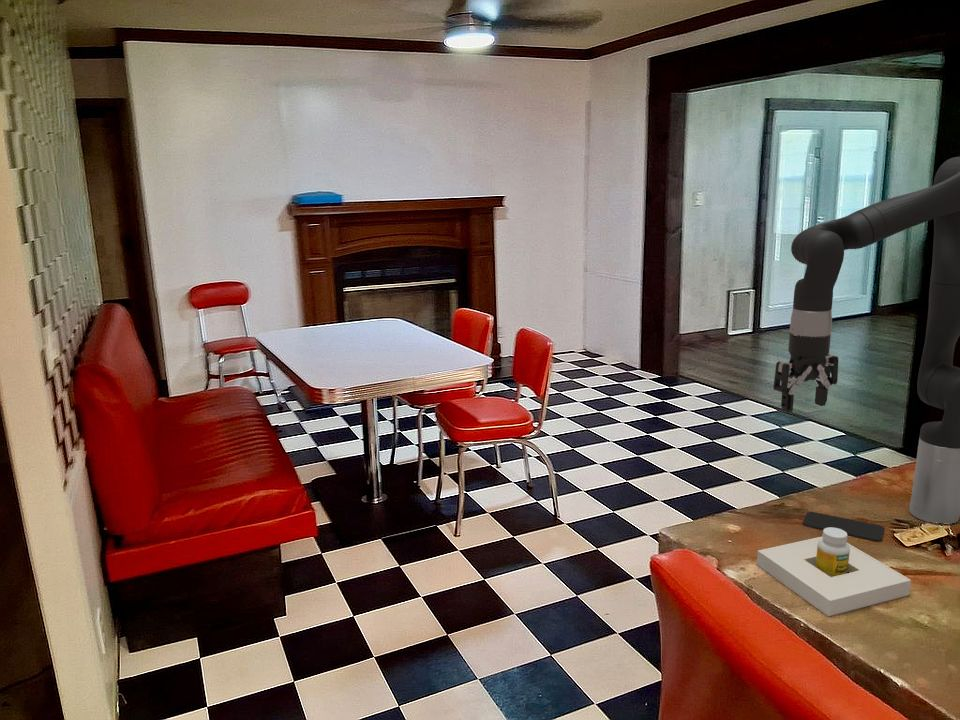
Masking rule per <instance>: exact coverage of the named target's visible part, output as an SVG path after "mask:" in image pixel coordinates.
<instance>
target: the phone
mask: <svg viewBox="0 0 960 720" xmlns="http://www.w3.org/2000/svg"><path fill="white" fill-rule="evenodd" d="M802 525H803V526H804V527H806V528H810V529H811V528H812V529H815V530H820V531H823V530H824V529H825V528H829V527H833V528H839V529H842V530H844V531H845V532H846V533H847V537H850V538H851V537H852V538H856V539H861V540H866V541H870V542H875V543H881V542H882V541H883V539H884V534H885V527H884V526H882V525H879V524H875V523H870V522H865V521H860V520H856V519H851V518H845V517H840V516H835V515H831V514H825V513H820V512H814V511H808V512H806V514H805V516H804V519H803V522H802Z"/></svg>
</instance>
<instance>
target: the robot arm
mask: <svg viewBox="0 0 960 720" xmlns="http://www.w3.org/2000/svg"><path fill="white" fill-rule="evenodd" d="M933 179H934V180H933V185H930V186H928V187H926V188H922V189H920V190H917V191H913V192H909V193H905V194H902V195H896V196H894V197H890V198H887V199H883V200H880V201H878V202H877V201H876V202H875V203H872V204H870V205H868V206H865V207H863V208H861V209H859V210H856V211H854V212H852V213H850V214H848V215H846V216H843V217H841V218H836V219H831V220H828V221H826V222H822V223H819V224H817V225H813V226H810V227H807V228H806V229H804V230H802V231H800V232H799V233H798V234H797V235H796V236H795V237H794V239H793V240H792V243H791V247H790V252H791V254H792V257H794V259H795V260H796V261H798V263H801V264H803V265H806V266H805V267H806V269H805V272H804V276H803V277H802V278H800V279H799V280H797V281H796V283H795V285H794V291H793V303H792V304H793V305H792V311H791V316H790V322H789V323H790V325H789V337H788V338H789V339H788V353H789V355H790V359H789V361H788V362H782V361H777V362H776V363H775V364H776V365H775V371H774V379H773V390H774V391H777V392H779V393H781V402H780V406H781V409H782V410H783V411H784V412H787V413H791V412H793V409H794V400H795V399H794V398H795V395H794V393H795V391H796V390H797V388H798V387H801V386H802V384H803V383H804V382H808V381H809V380H811V381H814V382H815V384H816V385H817V386H815V393H814V395H815V397H814V404H815V405H817V406H820V407H824V406H826V404H827V401H828V393H829V392H828V391H829V389H830V388H831V386H832V385H837V383H838V376H839V375H838V374H839V357H838V356H836V355H833V354H830V347H831V337H832V336H831V335H832V327H833V326H832V325H833V316H832V315H833V313H832V308H833V301H834V300H833V299H834V287H835V285H836V283H837V280H838V277H839V274H840V271H841V269H842V265H843V263H844V257H845V251H847V250H858V249H859V250H860V249H863V248H866V247H868V246H870V245H873V244H876V243H878V242H880V241H882V240H884V239H886V238H890V237H891V236H893V235H896V234H898V233H901V232H903V231H905V230H907V229H911V228H914V227H916V226H918V225H921V224H923V223H926V222H929V221H931V220H932V221H933V226H934V227H933V244H932V258H931V259H932V263H931V264H932V265H931V273H930V278H929V279H930V281H929V291H928V311H927V320H926V321H927V322H926V328H925V329H926V330H925V339H924V344H923V350H922V354H921V355H922V356H921V359H920V365H919V370H918V375H917V381H916V385H917V386H916V388H917V395H918V397H919V399H920V401H922V402H923V403H924V404H927V405H928V406H931V407H934V408H937V409H941V410H943V411H944V414H943V415H942V420H940V421H939V420H938V421H936V420H935V421H929V422H924V424H922V425H921V427H920V429H919V430H920V432H919V437H918V438H919V439H918V445H917V452H916V453H917V454H916V459H915V460H916V461H915V467H914V475H913V483H912V490H911V496H910V504H909V510H908V511H909V513H910V514H911V515H912V516H914V517H915V518H916V519H919V520H921V521H923V522H927V523H930V522H937V523H949V524H948V525H953V524H952V523H955V524H957V523H959V521H960V518H959V517H960V367H958V366H954V353H955V348H956V344H957V342H958V340H959V337H960V156H956V157H955V156H954V157H951V158H948V159H946V161H944V162H943V163H942V164H941V165H940V166H939V168H938V169H937V171H936V173H935V175H934V178H933ZM793 377H794V378H793ZM958 520H959V521H958ZM956 522H957V523H956Z"/></svg>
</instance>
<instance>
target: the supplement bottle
mask: <svg viewBox="0 0 960 720" xmlns="http://www.w3.org/2000/svg"><path fill="white" fill-rule="evenodd" d="M822 536H823V538H822V539H820V540H819V542H818V546H817V556H816V565H815V567H816V568H818V569H819V570H821V571H822V572H824V573H825V574H827V575H828V576H830V577H834V576H838V575H842V574H846V573H847V570H848V562H849V554H850V547H849V545H848V544H847V543H848V542H847V541H848V536H847V533H846V532H845V531H844V530H842V529H839V528H833V527H829V528H825V529H824V530H822V535H821V537H822ZM846 542H847V543H846Z"/></svg>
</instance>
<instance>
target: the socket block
mask: <svg viewBox="0 0 960 720" xmlns="http://www.w3.org/2000/svg"><path fill="white" fill-rule="evenodd" d="M822 538H823V536H822V535H821V536H818V537H813V538H809V539H803V540H800V541H796V542H791V543H790V542H789V543H786V544H781V545H776V546H772V547H769V548H762V549H759V550H757V556H756V566H758V567H759V568H760V569H762V570H763V571H765V572H766V573H768V574H769V575H771V577H773V578H774V579H776V580H778V581H779V582H780V583H782V584H783V585H785V587H787V588H788V589H790V590H791V591H792V592H794V593H795V594H797V595H798V596H799V597H801V598H802V599H803V600H805V601H806V602H808V603H809V604H810V605H812V606H813V607H814V608H816V609H817V610H819V611H820V612H821V613H823V614H824V615H825V616H827V617H832V616H836V615H839V614H843V613H847V612H850V611H855V610H858V609H862V608H867V607H869V606H873V605H874V606H875V605H877V604H881V603H884V602H889V601H893V600H895V599H896V600H897V599H901V598H904V597H907V596H910V590H911V584H912V579H910V578H909V577H907V576H905V575H903V574H901V573H900V572H898V571H897V570H895V569H893V568H891V567H890V566H887V564H884V563H883V562H881V561H879V560H878V559H876V558H874V557H873V556H871V555H869V554H868V553H866V552H864V551H862V550H860V549H858V548H857V547H856V546H853V545H852V544H850V543H849V542H847V541H846V543H847V544H848V545H849V547H850V554H849V562H848V570H847V572H849V573H846V574H842V575H838V576H834V577H830V576H828V575H827V574H825V573H824V572H822V571H821V570H819V569H818V568H816V567H815V565H816V556H817V546H818V542H819V540H820V539H822Z"/></svg>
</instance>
